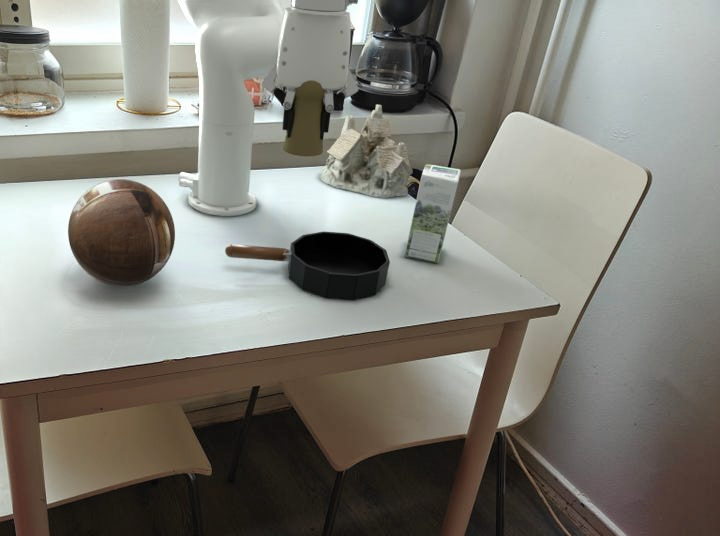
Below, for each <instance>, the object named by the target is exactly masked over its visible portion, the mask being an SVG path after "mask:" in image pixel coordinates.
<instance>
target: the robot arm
mask: <svg viewBox="0 0 720 536" xmlns="http://www.w3.org/2000/svg"><path fill="white" fill-rule="evenodd" d="M177 1H178V3H179V5H180V8H181V10H182V12H183V13H184V16H185V17H186V19H187V20H188V22H189V23H190V24H191V25H192V26H193V27H195V28H196V29H199V30H198V31H197V35H196V38H195V58H196V64H197V70H198V71H197V72H198V79H199V81H198V82H199V83H198V84H199V121H198V123H199V124H198V125H199V128H198V155H197V156H198V157H197V158H198V159H197V173H195V174H191V173H188V172H184V171H180V173H179V175H178V181H179V182H178V185H179V187H182V188H189V189H190V190H191V192H190V193H189V194H188V204H189V205H190V206H191V207H192V209H195V210H196V211H198V212H201V213H204V214H208V215H213V216H219V217H234V216H235V217H236V216H241V215H246V214H248V213H251V212H252V211H253V210H255V208H256V207H257V201H258V200H257V197H256V196H255V195H254V194H253V193H252V192H250V182H251V181H250V180H251V167H252V166H251V165H252V153H253V139H254V126H255V115H256V113H255V111H256V110H255V104H254V100H253V98H252V96H251V94H250V92H249V90H248V89H247V87H246V84H245V81H246V80H247V81H248V80H253V79H262V80H261V86H262V87H263V89H265V90H266V91H268V92H269V93H271V94H272V95H273V96H274V98H275V99H276V100H277V101H278V102H279V103H280V104H281V106H282V107H283V116H282V126H281V127H282V131H285V133H287V138H290V137H291V131H292V128H293V123H294V112H295V111H294V110H293V102H294V98H295V93H296V92H295V88H298V87H300V86H301V85H302V83H304V82H306V81H309V80H311V81H316V82H318V83H320V84H321V86H322V88H323V89H325V90H326V92H325V96H324V98H323V110H322V112H321V121H320V139H321V140H323V141H324V138H325V137H324V136H325V133H327V134H328V133H329V129H330V123H331V122H330V121H331V114H332V112H333V111H334V109H336V107H338V106H339V105H340V104H341V103H342V102H344V100H345V99H348V98H349V97H351V96H353V95H354V94H357V93H358V92H359V86H358V83H357V82H356V80H355V77H354V75H353V73H352V71H351V69H350V67H349V65H350V54H351V32H352V31H351V27H352V26H351V13H350V12H349V11H347V10H348V7H349V6H352V4H354V5H357V4H358V3H359V0H290V7H285V8H284V6H283V4H282V1H281V0H177ZM275 80H276V82H277V83H275ZM277 84H279V85H280V86H282V87H284V88H285V90H283V89H282V88H281V87H280V86H279V85H277ZM334 91H336V92H335V93H334Z"/></svg>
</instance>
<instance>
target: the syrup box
mask: <svg viewBox="0 0 720 536" xmlns="http://www.w3.org/2000/svg"><path fill="white" fill-rule="evenodd" d="M461 172H462V171H461V169H459V168H453V167H447V166H440V165H434V164H429V163H426V164H425V165H424V167H423V170H422V173H421V177H420V181H419V185H418V191H417V195H416V200H415V205H414V209H413V213H412V219H411V223H410V228H409V232H408V233H409V234H408V237H407V242H406V247H405V252H404V257H405V258H409V259H415V260H419V261H423V262H428V263H429V262H430V263H433V264H439V262H440V257H441V254H442V250H443V246H444V242H445V238H446V233H447V230H448V225H449V221H450V217H451V213H452V209H453V205H454V202H455V198H456V193H457V189H458V185H459V181H460V177H461Z"/></svg>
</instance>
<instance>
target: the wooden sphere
mask: <svg viewBox="0 0 720 536" xmlns="http://www.w3.org/2000/svg"><path fill="white" fill-rule="evenodd" d="M67 227H68V228H67V237H68V244H69V247H70V251H71V253H72V255H73V258H75V261H76V262H77V264H78V265H79V266H80V268H82V269H83V270H84V272H86V273H87V274H88V275H89V276H90V277H92V278H93V279H95V280H97V281H99V282H101V283H103V284H106V285H109V286H113V287H133V286H137V285H140V284H143V283H146V282H148V281H149V280H151V279H152V278H154V277H155V276H156V275H158V274H159V273H160V272H161V271H162V270H163V269H164V268H165V266H166V265H167V263H168V262H169V260H170V258H171V256H172V254H173V250H174V247H175V242H176V227H175V222H174V218H173V215H172V213H171V211H170V208H169V207H168V205H167V203H166V202H165V201H164V199H163V198H162V197H161V196H160V195H159V194H158V193H157V192H156V191H155V190H154V189H152V188H150V187H149V186H147V185H146V184H143V183H141V182H138V181H135V180H131V179H125V178H117V179H116V178H114V179H109V180H105V181H102V182H99V183H97V184H95V185H93V186H92V187H90V188H89V189H88V190H86V191H85V192H84V193H83V194H82V195H81V196H80V197H79V198H78V199H77V201H76V203H75V204H74V206H73V208H72V210H71V213H70V216H69V219H68V226H67Z"/></svg>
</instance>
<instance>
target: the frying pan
mask: <svg viewBox="0 0 720 536" xmlns="http://www.w3.org/2000/svg"><path fill="white" fill-rule="evenodd" d="M289 247H290V248H285V247H274V246H260V245H248V244H247V245H246V244H234V243H233V244H232V243H231V244H228V245H227V246H225V249H224V253H225V255H226V256H227V257H228V258H231V259H232V258H233V259H245V260H246V259H248V260H261V261H274V262H288V263H287V265H288V266H287V271H288V272H287V273H288V279H289V280H290V281H291V282H292V283H293V284H294V285H296V286H297V287H298V288H299V289H300V290H302V291H304V292H305V293H310V294H312V295H316V296H318V297H322V298H324V299H331V300H343V301H356V300H362V299H365V298H370V297H375V296H376V295H377V294H378V293H379V292H380V291H381V290H382V289H383V288H384V287H385V286H386V283H387V278H388V273H389V268H390V264H391V261H390V258H389V254H388V252H387V250H386V249H385V248H383V246H380V244H378V243H376V242H375V241H373V240H371V239H369V238H366V237H362V236H358V235H355V234H353V233H350V232H349V233H348V232H339V231H338V232H335V231H318V232H317V231H316V232H312V233H306V234H302V235H301V236H299V237H297V238H296V239H295V240H293V241H292V242H291V243H290V246H289Z"/></svg>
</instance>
